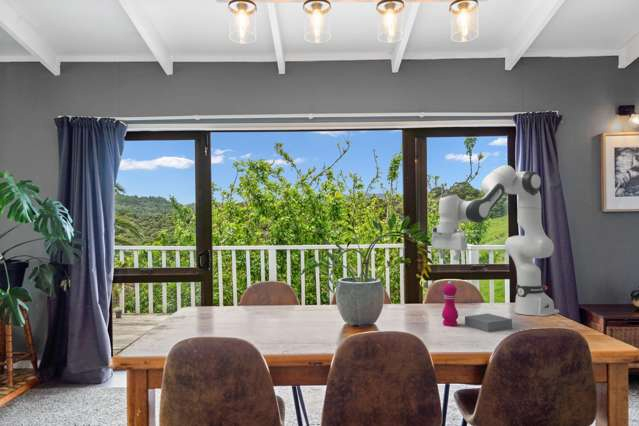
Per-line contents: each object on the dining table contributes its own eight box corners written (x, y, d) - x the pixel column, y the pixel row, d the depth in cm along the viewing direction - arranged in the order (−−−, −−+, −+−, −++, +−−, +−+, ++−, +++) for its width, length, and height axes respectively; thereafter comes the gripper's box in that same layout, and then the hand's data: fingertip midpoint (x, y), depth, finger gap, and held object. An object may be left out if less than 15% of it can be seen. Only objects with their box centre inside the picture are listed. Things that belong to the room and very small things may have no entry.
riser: (488, 322, 219) (487, 313, 219) (512, 328, 207) (511, 319, 207) (464, 325, 213) (464, 316, 213) (488, 332, 201) (488, 322, 201)
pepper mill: (459, 326, 210) (458, 282, 210) (442, 326, 212) (441, 281, 212) (457, 323, 217) (457, 279, 218) (441, 322, 219) (441, 279, 219)
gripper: (470, 229, 207) (470, 260, 207) (439, 228, 225) (440, 257, 225) (459, 229, 204) (459, 261, 204) (429, 228, 223) (429, 258, 223)
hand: (449, 259), depth 215 cm, fingers open, 8 cm apart
